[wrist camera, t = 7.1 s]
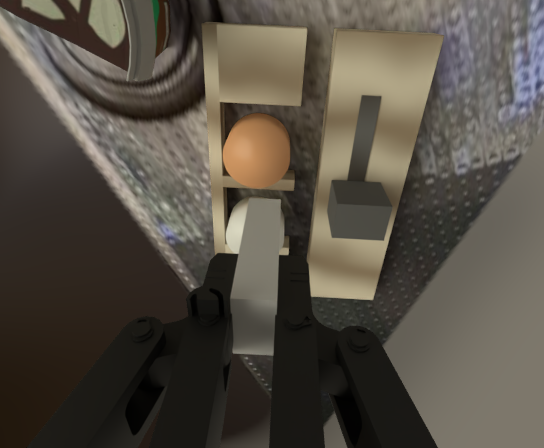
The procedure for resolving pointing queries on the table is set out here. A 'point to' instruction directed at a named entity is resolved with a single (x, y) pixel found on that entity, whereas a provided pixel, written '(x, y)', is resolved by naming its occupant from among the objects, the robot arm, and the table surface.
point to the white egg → (237, 225)
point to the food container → (105, 28)
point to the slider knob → (358, 210)
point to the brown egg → (257, 151)
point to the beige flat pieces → (325, 127)
